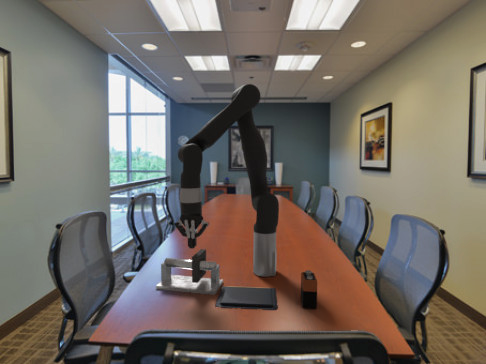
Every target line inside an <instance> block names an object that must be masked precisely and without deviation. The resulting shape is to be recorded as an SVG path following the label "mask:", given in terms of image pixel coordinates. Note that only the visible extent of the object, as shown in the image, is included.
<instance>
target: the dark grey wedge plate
mask: <svg viewBox="0 0 486 364" xmlns="http://www.w3.org/2000/svg"><path fill="white" fill-rule="evenodd" d="M191 260H192V269H191V277H192V282H194V283H198V282H199V281H200V279H201V278H204V276H205V275H206V273H207V271H206V270H200V261H207V249H206V248H201V249H200V250H198V251H197V252H196V253H195V254H194V255H193V256H191Z"/></svg>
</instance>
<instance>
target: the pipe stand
mask: <svg viewBox="0 0 486 364" xmlns="http://www.w3.org/2000/svg"><path fill="white" fill-rule="evenodd" d="M172 268H173V269H174V268H175V269H184V270H192V259H187V258H186V259H184V258H183V259H182V258H173V257H166V258H165V259H164V261H163V262H162V263H161V264H160V269H161V270H160V278H161V279H160V280H161V281H160V282H158V283H157V284H156V285H155V290H161V291H172V292H179V293H181V292H182V293H189V292H191V293H192V294H199V293H200V294H202V295H208V294H209V295H210V296H211V295H212V296H216V295H215V294H217V293H218V291H220V289H221V288H222V285H223V283H224V279H220V273H221V272H220V269H221V268H220V264H217V261H209V260H206V261H200V270H206V272H207V271H208V272H209V271H210V277H202V278H201V279H200V281H199V282H198V283H194V282H192V276H190V275H188V276H186V275H180V274H179V275H178V274H172Z"/></svg>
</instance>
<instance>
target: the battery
mask: <svg viewBox="0 0 486 364" xmlns="http://www.w3.org/2000/svg"><path fill="white" fill-rule="evenodd" d="M300 299H301V301H300V302H301V306H302V308H303V309H310V310H317V307H318V280H317V277H316V273H314V272H313V271H311V270H307V269H306V270H305V271H302V272H301V273H300Z"/></svg>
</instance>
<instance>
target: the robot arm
mask: <svg viewBox="0 0 486 364" xmlns="http://www.w3.org/2000/svg"><path fill="white" fill-rule="evenodd" d="M230 98H231V99H230V100H231V102H230V103H229V104H228V105H226V107H225V108H224V109H222V110H221V111H220V112H219V113H217V114H216V115H215V116H214V117H213V118H211V119H210V120H209V121H208V122H207V123H206V124H205V125H204V126H202V127H201V129H199V131H198V132H197V133H196V134H195V135H194V136H192V137H191V138H189V139H188V140H186V142H184V144H183V145H181V146H180V148H179V149H178V151H177V158H178V160H179V161H180V163H182V172H181V173H180V179H179V180H180V194H179V195H180V197H179V202H180V203H179V204H180V217H179V220H178V221H176V222H174V224H173V225H174V226H175V228H176V229H177V231H179V233H180V234H181V236H182V237H186V238H187V246H188V248H189V249H193V250H194V249H195V248H196V247H197V240H198V239H197V238H199V237H200V236H202V235H203V233H204V232H205V231H206V230H207V228H208V227H209V225H210V222H208V221H205V219H204V217H203V201H202V199H203V196H202V188H201V184H202V183H201V173H202V166H203V159H204V158H203V153H204V151H206V150H208V149H210V148H212V146H214V145H215V143H217V142H218V141H219V140H220V139H221V138H222V137H223V136H224V134H225V133H226V132H227V131H228V130H229V129H230V128H231V127H232V126H233V125H234V124H235V123H237V127H238V132H239V137H240V139H239V140H240V143H241V148H242V154H243V159H244V164H245V168H246V172H247V177H248V181H249V187H250V198H251V205H252V208H253V209H254V211H255V212H256V213H255V214H256V217H255V218H256V219H255V220H256V221H255V223H253V252H252V253H253V254H252V255H253V258H252V259H253V261H252V263H253V265H252V266H253V268H252V269H253V270H252V271H253V274H254V275H256V276H259V277H266V278H267V277H275V276H276V273H277V250H278V249H277V227H278V224H279V217H280V216H279V214H280V213H279V212H280V203H279V199H278V197H277V196H276V195H275V194H273V193H272V192H270V189H269V185H268V181H267V172H268V171H267V169H268V154H267V149H266V148H267V147H266V143H265V140H264V138H263V136H262V134H261V132H260V131H259V129H258V128H257V126H256V123H255V121H254V115H253V109H254V108H256V107H257V106H258V105H259V103H260V101H261V92H260V89H259V88H258V87H257V86H256V85H255V84H253V83H247V84H244V85H241V86H240V87H238V88H237V89H235V90H234V91H233V93H232V94H231V97H230ZM200 226H201V228H200V229H199V227H200Z"/></svg>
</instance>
